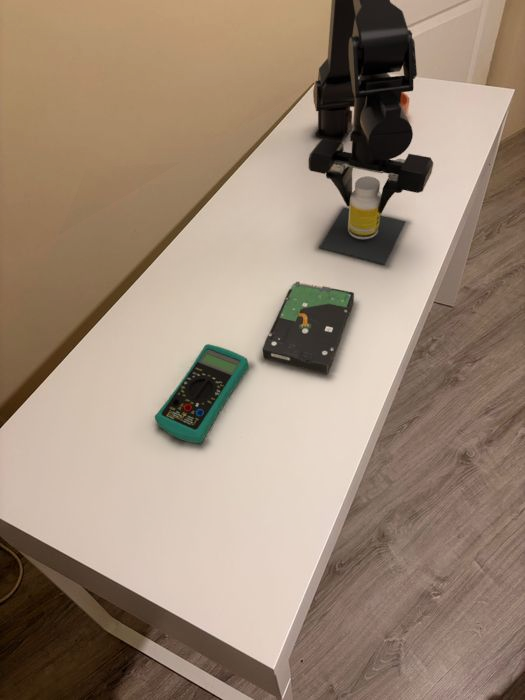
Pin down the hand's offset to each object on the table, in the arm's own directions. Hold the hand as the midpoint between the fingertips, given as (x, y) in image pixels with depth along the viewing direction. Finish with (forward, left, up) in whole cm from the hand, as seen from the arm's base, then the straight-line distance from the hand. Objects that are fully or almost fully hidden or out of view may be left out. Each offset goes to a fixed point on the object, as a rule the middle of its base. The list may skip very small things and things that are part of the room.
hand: (365, 208), depth 85 cm
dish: (-9, +39, -6) cm, 40 cm away
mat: (0, 0, -6) cm, 6 cm away
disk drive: (0, -24, -6) cm, 25 cm away
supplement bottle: (0, 0, -5) cm, 5 cm away
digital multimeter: (-9, -41, -6) cm, 42 cm away
